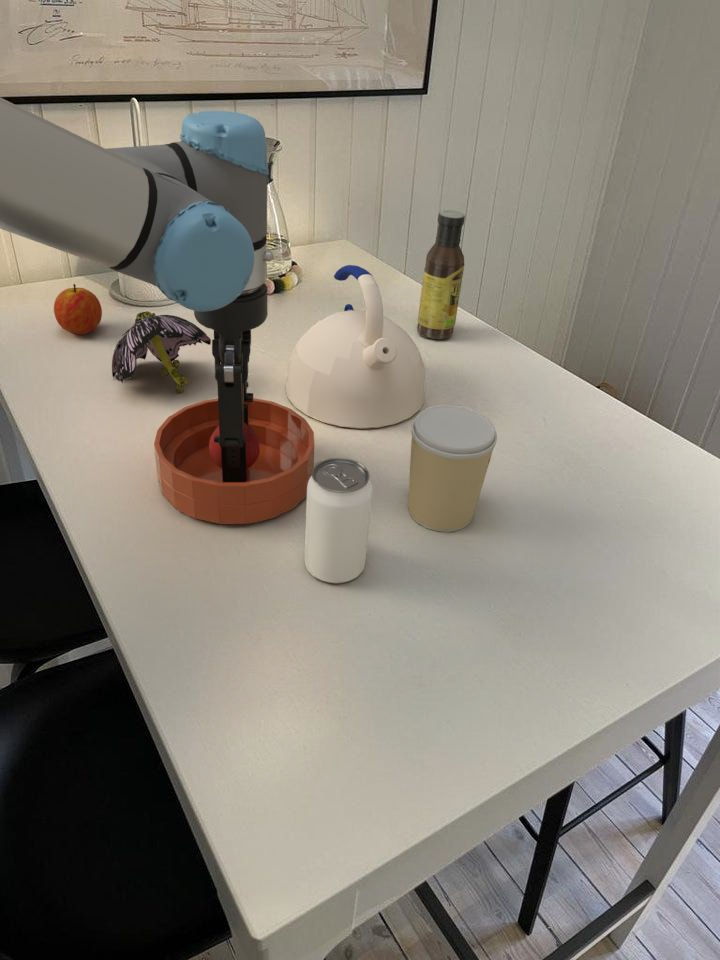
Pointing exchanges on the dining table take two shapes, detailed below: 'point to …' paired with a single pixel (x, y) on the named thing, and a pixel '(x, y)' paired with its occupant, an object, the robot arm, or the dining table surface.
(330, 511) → the can
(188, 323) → the purple butterfly
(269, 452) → the bowl
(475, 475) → the coffee cup
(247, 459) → the onion
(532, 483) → the dining table surface
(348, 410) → the kettle
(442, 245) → the sauce bottle
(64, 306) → the fruit
